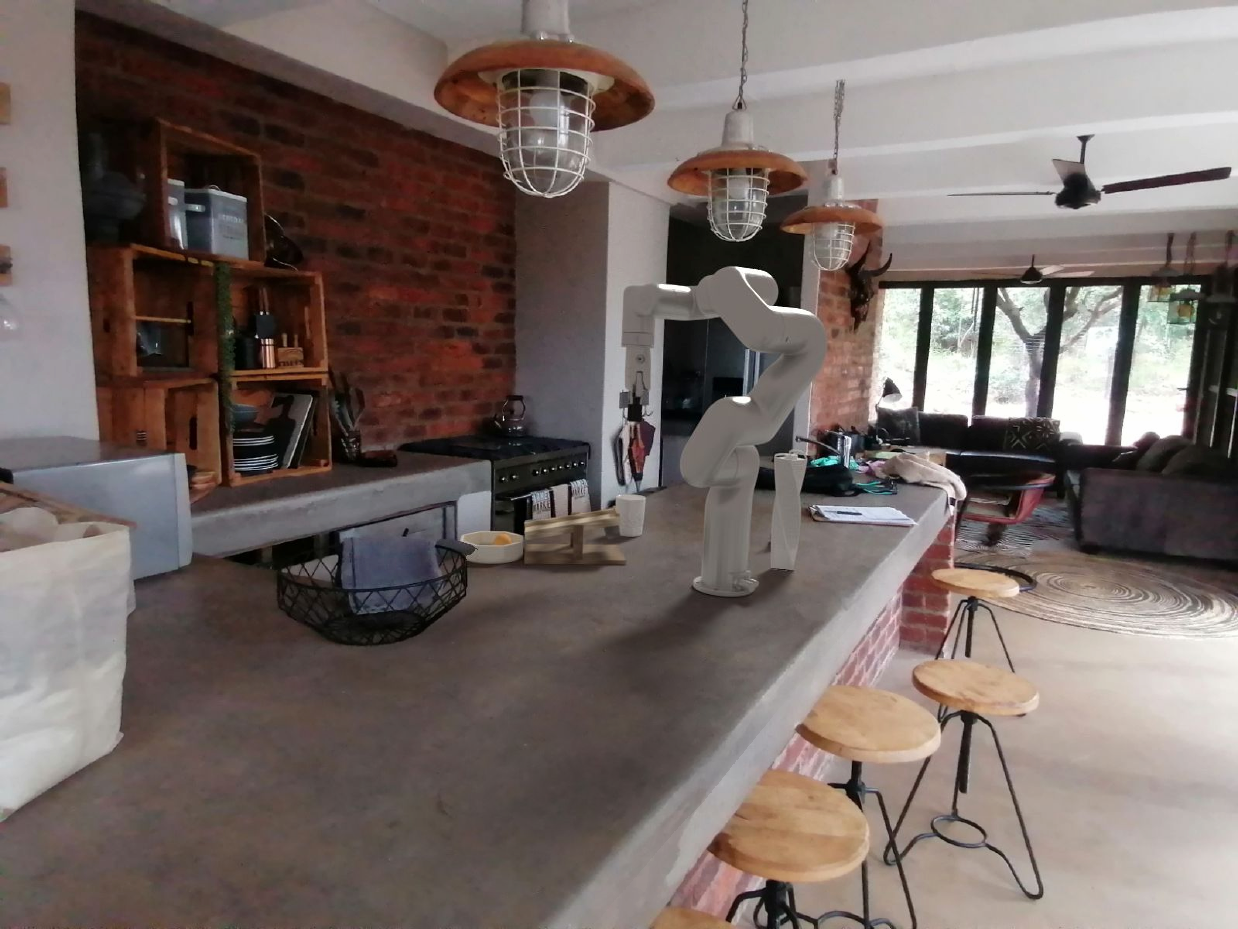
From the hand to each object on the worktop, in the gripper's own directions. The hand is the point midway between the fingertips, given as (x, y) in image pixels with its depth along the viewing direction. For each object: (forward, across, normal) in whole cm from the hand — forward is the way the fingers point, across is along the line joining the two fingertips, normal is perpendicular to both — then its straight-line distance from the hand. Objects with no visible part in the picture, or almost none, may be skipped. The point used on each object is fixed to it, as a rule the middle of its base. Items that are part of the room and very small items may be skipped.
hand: (634, 421), depth 183 cm
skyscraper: (+32, -9, -35) cm, 48 cm away
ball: (+29, 0, +30) cm, 42 cm away
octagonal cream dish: (+32, 0, +32) cm, 45 cm away
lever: (+28, +3, +13) cm, 31 cm away
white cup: (+32, +23, -3) cm, 40 cm away
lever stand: (+32, 0, +12) cm, 34 cm away
